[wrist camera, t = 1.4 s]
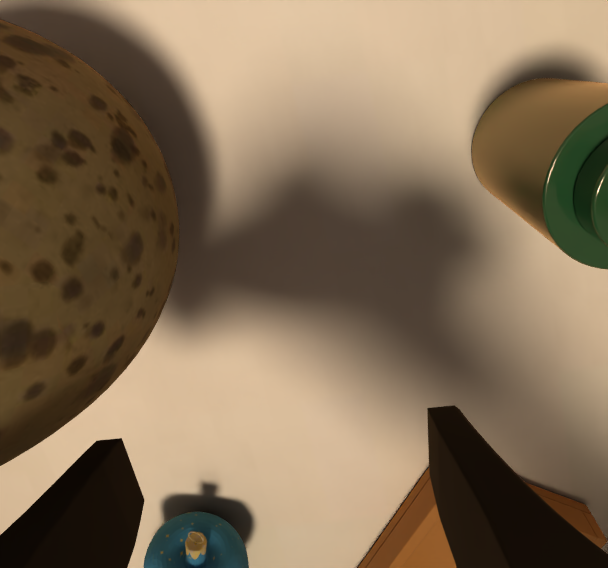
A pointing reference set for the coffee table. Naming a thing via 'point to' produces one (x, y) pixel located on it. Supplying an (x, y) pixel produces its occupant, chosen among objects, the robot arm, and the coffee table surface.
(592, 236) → the green bottle
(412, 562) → the tray
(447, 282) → the coffee table surface
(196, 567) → the ornament
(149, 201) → the decorative egg
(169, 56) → the coffee table surface
